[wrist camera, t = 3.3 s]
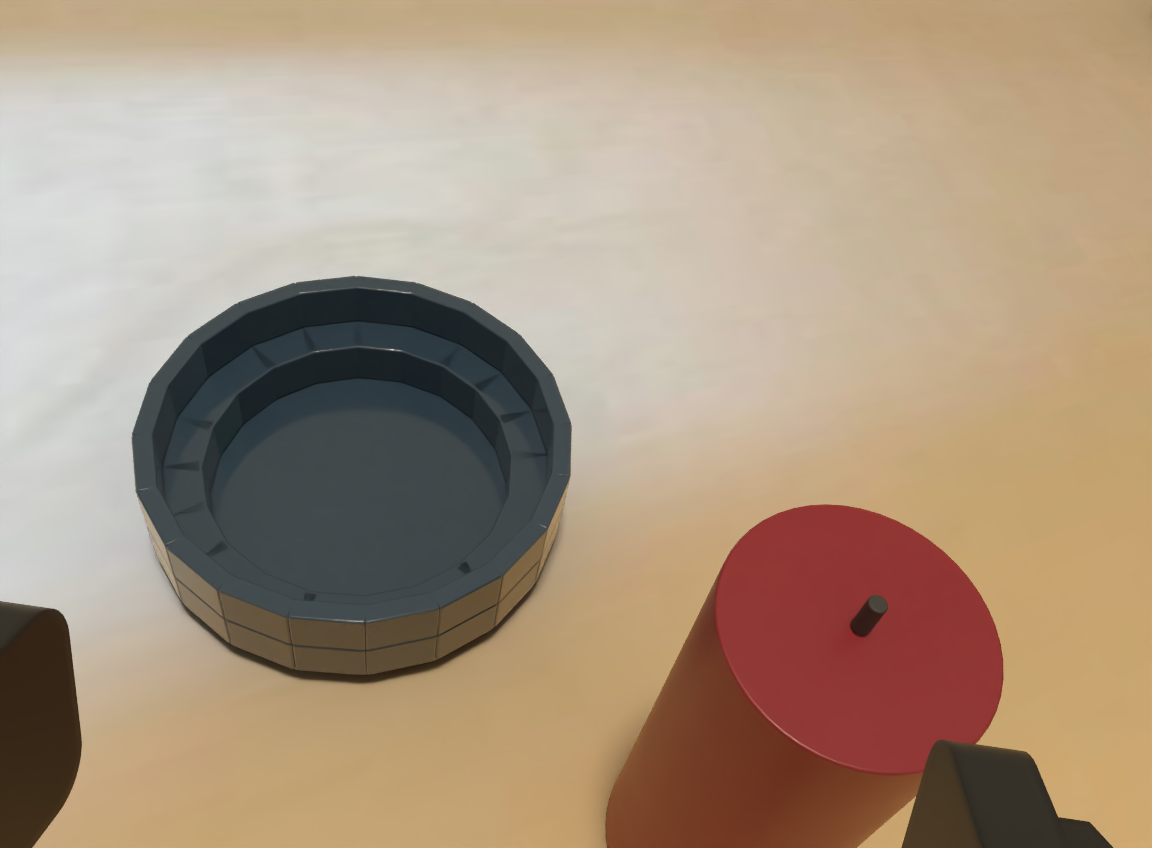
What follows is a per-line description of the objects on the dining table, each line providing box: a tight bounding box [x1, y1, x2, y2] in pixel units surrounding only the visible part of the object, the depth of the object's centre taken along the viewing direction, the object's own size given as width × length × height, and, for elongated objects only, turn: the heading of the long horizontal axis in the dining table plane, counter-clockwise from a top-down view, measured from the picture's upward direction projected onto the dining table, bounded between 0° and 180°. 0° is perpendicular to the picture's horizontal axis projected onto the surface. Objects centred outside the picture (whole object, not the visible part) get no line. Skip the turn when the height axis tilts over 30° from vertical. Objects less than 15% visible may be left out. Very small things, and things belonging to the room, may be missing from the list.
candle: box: [606, 505, 1003, 848], centre depth 26 cm, size 6×6×14 cm
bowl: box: [132, 276, 572, 675], centre depth 35 cm, size 13×13×4 cm
